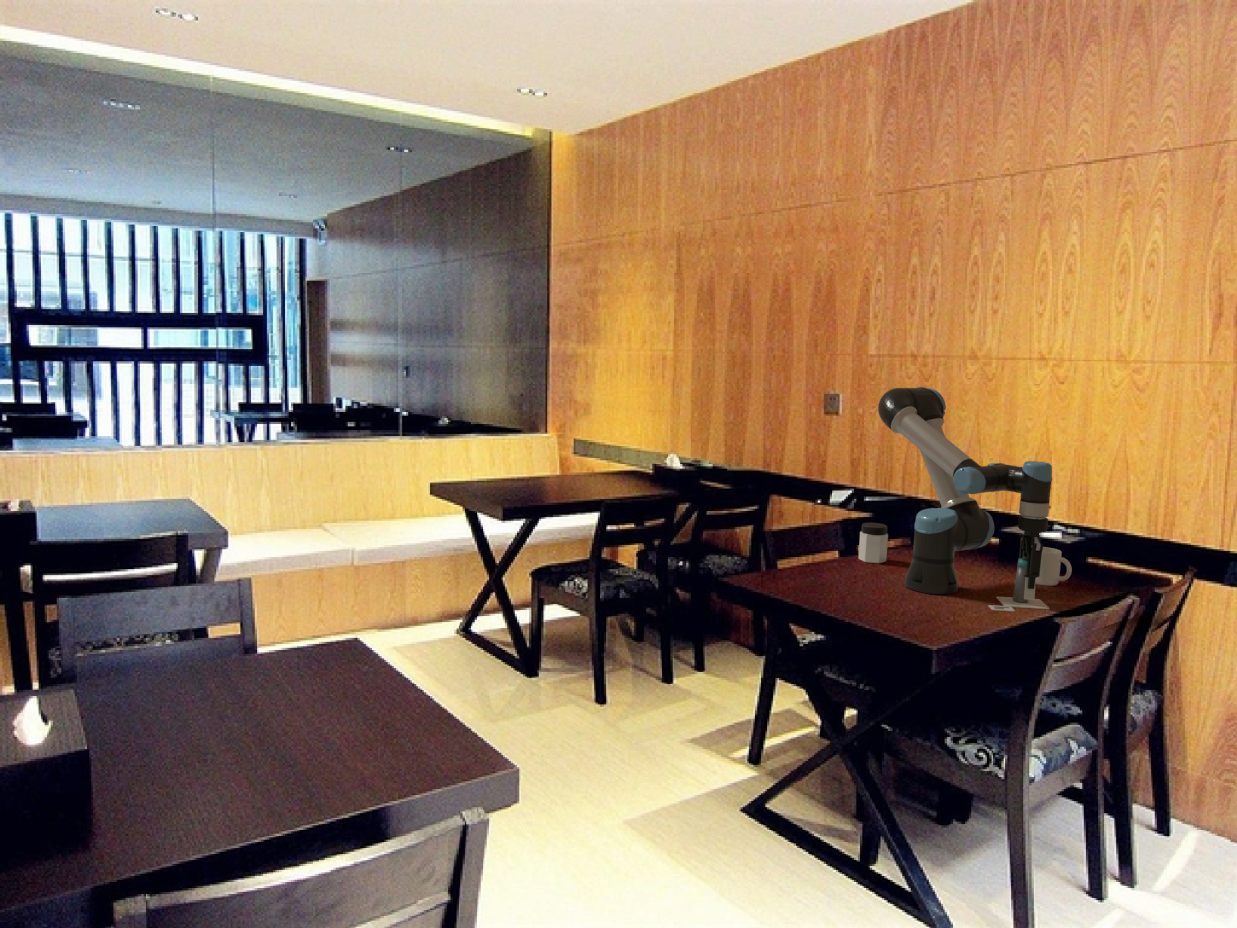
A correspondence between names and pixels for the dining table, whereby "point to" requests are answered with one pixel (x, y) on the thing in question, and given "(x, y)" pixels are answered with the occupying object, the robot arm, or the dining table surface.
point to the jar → (873, 543)
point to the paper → (1031, 603)
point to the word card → (1001, 608)
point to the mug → (1052, 567)
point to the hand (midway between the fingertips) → (1026, 596)
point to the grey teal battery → (1020, 581)
